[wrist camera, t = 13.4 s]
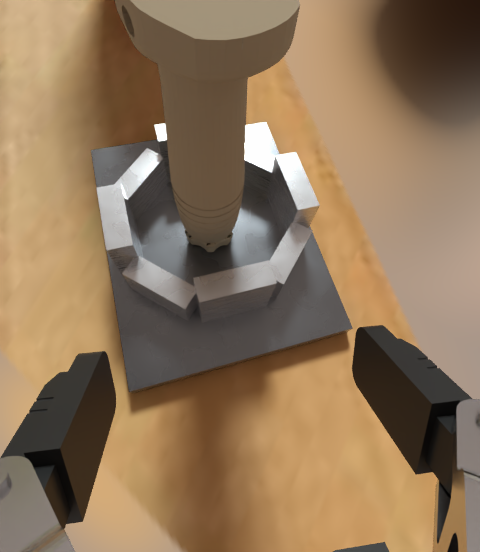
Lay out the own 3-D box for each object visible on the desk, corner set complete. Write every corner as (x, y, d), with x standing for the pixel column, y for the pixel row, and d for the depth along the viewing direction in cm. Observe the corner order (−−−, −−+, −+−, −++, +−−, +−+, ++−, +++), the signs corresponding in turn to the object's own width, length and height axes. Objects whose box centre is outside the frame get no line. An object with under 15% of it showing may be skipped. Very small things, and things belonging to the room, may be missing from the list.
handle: (201, 287, 22) (176, 61, 8) (157, 213, 24) (75, -70, 10) (263, 253, 23) (334, 8, 9) (216, 186, 25) (217, -100, 11)
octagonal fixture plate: (133, 393, 20) (109, 384, 15) (95, 159, 26) (70, 104, 22) (347, 331, 22) (381, 309, 18) (264, 131, 29) (273, 77, 24)
